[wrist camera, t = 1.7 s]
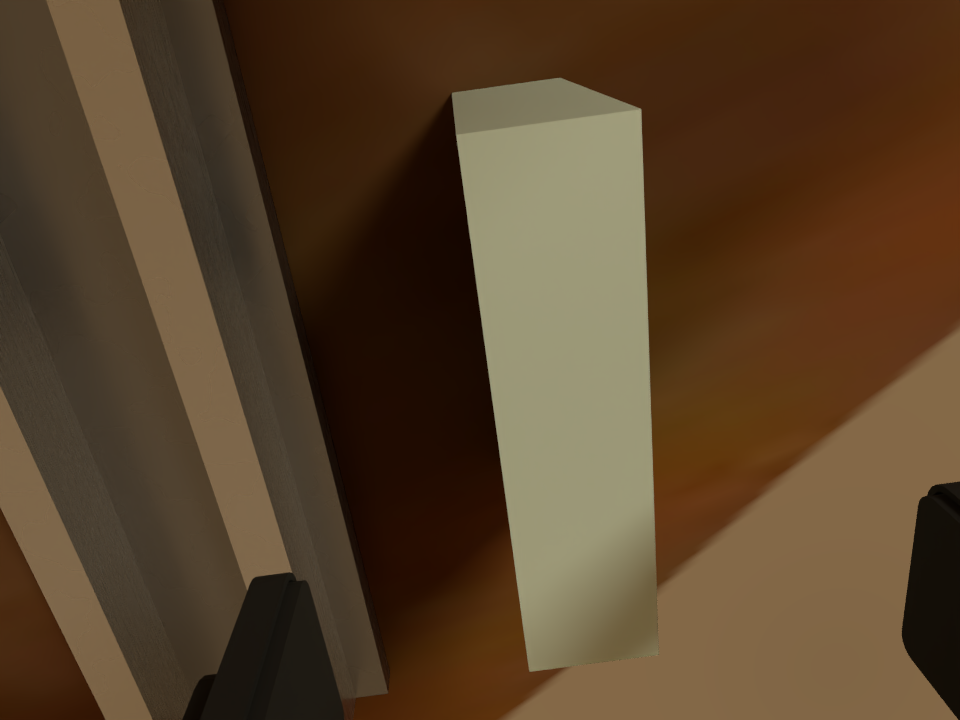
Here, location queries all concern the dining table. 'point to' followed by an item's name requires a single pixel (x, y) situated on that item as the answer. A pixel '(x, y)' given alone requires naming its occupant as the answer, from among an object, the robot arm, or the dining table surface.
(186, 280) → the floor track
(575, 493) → the door panel
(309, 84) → the dining table surface
